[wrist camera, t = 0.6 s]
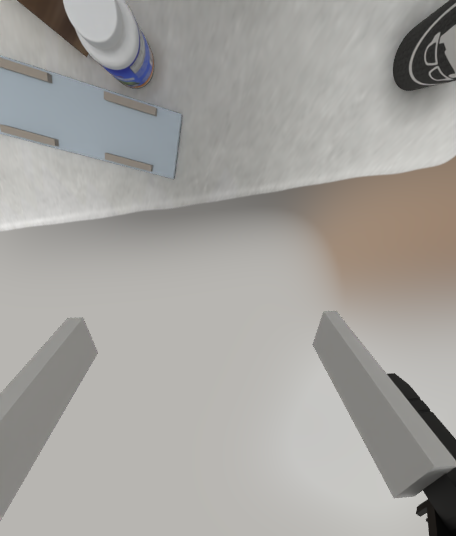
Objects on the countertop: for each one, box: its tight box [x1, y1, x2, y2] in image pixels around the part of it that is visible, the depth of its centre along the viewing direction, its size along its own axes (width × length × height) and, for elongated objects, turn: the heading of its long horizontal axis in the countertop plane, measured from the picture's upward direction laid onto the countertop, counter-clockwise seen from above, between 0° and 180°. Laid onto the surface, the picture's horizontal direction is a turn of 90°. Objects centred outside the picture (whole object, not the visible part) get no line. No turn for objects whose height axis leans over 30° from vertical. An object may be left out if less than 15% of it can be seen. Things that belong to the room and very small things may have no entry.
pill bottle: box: [63, 0, 154, 88], centre depth 20 cm, size 5×5×10 cm
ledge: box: [0, 55, 182, 179], centre depth 26 cm, size 8×24×2 cm, turn 75°
